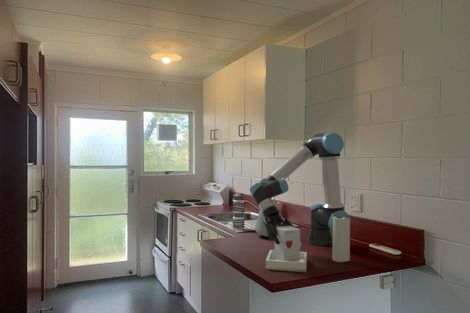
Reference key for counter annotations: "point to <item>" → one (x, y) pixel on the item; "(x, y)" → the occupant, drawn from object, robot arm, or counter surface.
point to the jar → (262, 224)
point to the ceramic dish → (286, 263)
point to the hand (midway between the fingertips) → (291, 247)
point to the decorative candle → (238, 211)
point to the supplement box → (288, 244)
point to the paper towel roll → (341, 239)
